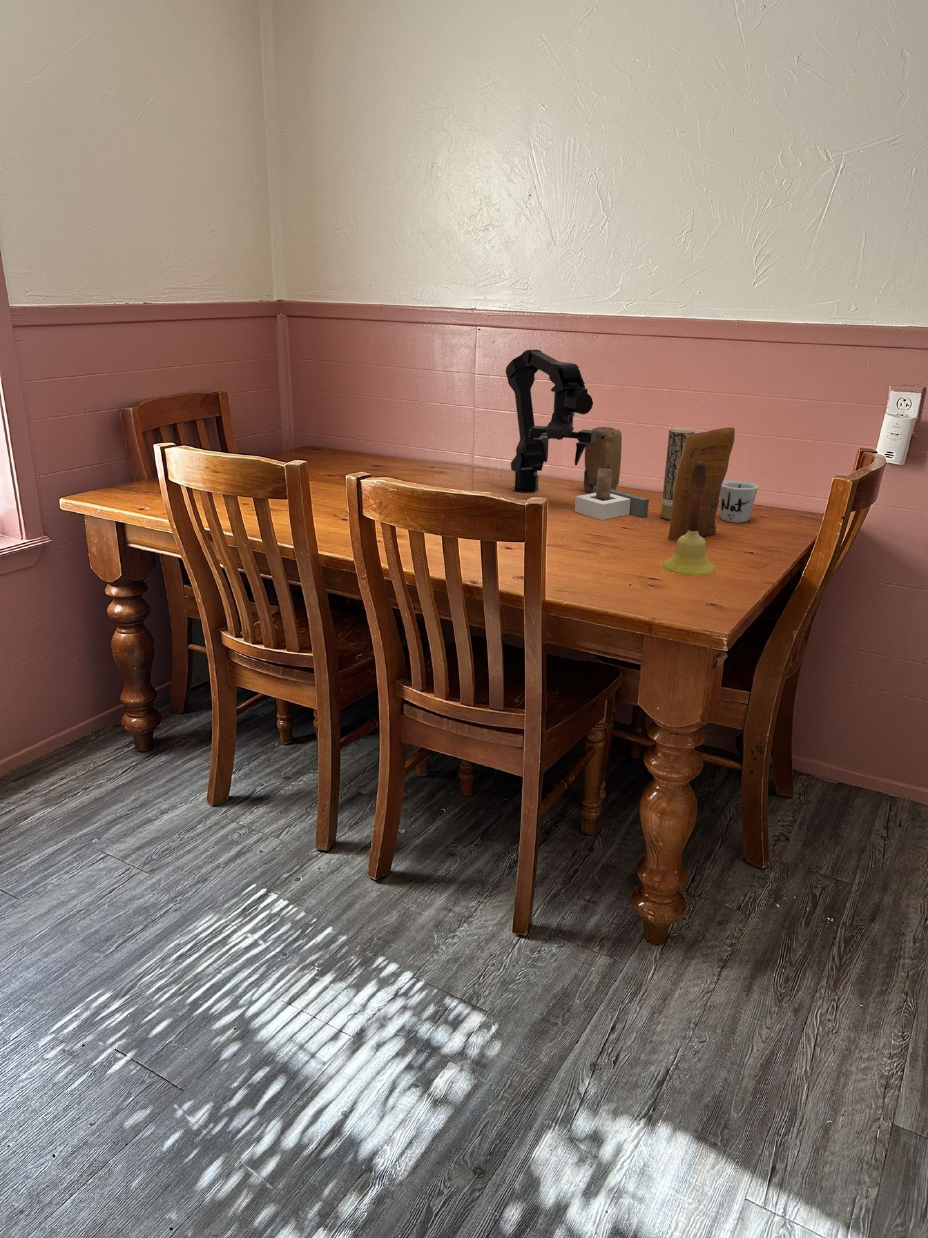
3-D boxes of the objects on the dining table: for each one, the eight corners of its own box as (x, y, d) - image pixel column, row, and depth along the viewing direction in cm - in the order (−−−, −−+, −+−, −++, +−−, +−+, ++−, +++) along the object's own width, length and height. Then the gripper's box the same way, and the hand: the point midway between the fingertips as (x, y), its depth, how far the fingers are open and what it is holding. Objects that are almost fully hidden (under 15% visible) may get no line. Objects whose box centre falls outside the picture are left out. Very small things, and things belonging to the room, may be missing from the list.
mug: (711, 521, 246) (715, 485, 242) (723, 509, 258) (727, 475, 254) (749, 526, 241) (754, 490, 237) (760, 514, 253) (764, 479, 250)
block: (620, 494, 273) (625, 429, 266) (603, 497, 269) (608, 431, 261) (595, 487, 281) (600, 424, 274) (578, 490, 277) (582, 426, 269)
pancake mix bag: (730, 534, 233) (744, 428, 223) (675, 543, 225) (687, 433, 214) (713, 528, 239) (725, 424, 228) (658, 536, 230) (668, 429, 220)
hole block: (574, 511, 253) (575, 496, 251) (601, 506, 259) (602, 491, 257) (602, 520, 245) (603, 504, 243) (629, 514, 251) (630, 498, 249)
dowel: (593, 513, 251) (596, 470, 246) (597, 510, 254) (600, 467, 250) (606, 515, 250) (609, 471, 245) (610, 512, 253) (613, 469, 248)
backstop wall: (592, 502, 263) (593, 486, 261) (597, 501, 264) (598, 485, 262) (642, 517, 248) (644, 500, 246) (647, 516, 249) (648, 499, 247)
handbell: (667, 576, 201) (678, 467, 192) (657, 559, 212) (667, 456, 203) (721, 577, 201) (735, 468, 191) (709, 560, 212) (721, 457, 203)
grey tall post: (685, 521, 244) (695, 431, 235) (660, 520, 245) (669, 430, 236) (684, 515, 250) (694, 427, 241) (660, 514, 252) (669, 426, 242)
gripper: (522, 410, 247) (520, 465, 253) (586, 415, 240) (583, 472, 246) (536, 405, 257) (534, 458, 263) (598, 410, 250) (594, 465, 256)
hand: (560, 463), depth 256 cm, fingers open, 9 cm apart
